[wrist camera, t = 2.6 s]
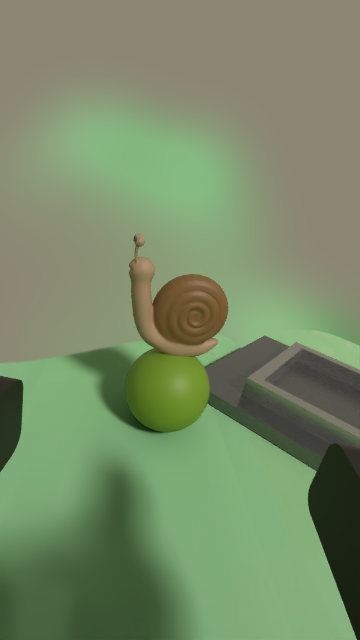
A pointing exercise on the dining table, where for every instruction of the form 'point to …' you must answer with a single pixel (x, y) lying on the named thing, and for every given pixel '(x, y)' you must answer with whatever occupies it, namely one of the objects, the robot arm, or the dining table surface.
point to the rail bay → (289, 397)
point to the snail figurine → (172, 345)
